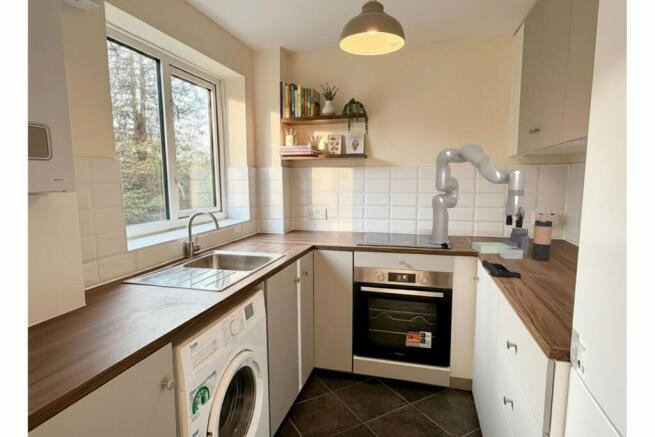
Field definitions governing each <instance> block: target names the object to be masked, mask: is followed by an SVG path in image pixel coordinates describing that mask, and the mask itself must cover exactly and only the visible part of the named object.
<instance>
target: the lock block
mask: <svg viewBox="0 0 655 437" xmlns="http://www.w3.org/2000/svg"><path fill="white" fill-rule="evenodd" d="M499 256H500V257H501V258H503V259H508V260H509V259H510V260H523V259H524V258H523V257H524V254H523V250H522V249H520V248H514V247H500V254H499Z"/></svg>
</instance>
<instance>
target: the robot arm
mask: <svg viewBox="0 0 655 437" xmlns="http://www.w3.org/2000/svg"><path fill="white" fill-rule="evenodd" d="M489 161H490V157H489V155H487V154H486V153H484V149H483V147H482V146H480V145H478V144H472V143H471V144H470V143H468V144H465V145H463V146H462V147H461V148H460V149H459V148H452V147H451V148H449V147H448V148H444V149H442V150H441V151H440V152H439V153H438V154H437V155H436V160H435V165H436V166H435V167H436V168H435V169H436V170H435V172H436V174H435V187H434V188H435V190H437V191H438V192H439V193H438V194H436V195H434V196H433V197H432V200H431V207H432V232H431V233H432V234H431V239H429V242H428V243H430V244H433V245H440V244H443V243H447V244H446V245H450V244H451V241H450V240H448V237H449V218H450V217H449V211H448V209H453V208H455V207H456V206H457V205H458V201H459V192H460V191H459V189H460V186H459V185H460V183H459V181H458V179H457V178H456V177H454V176H451V166H450V163H452V164H454V163H455V164H463V163H469V164H471V165H472V166H473V167H475V168H476V169H477V171H478V173H479V175H481V177H483V178H484V179H486V180H487V181H488V182H490V183H491V184H493V185H494V184H496V185H507V197H506V201H505V210H504V213H505V226H513V222H514V221H513V220H514V219H513V217H514V216H515V228H523V223H524V218H525V214H526V211H525V201H524V199H525V189H526V188H525V187H526V185H525V183H526V170H524V169H497V168H496V167H494V166H493V165H492V164H491V163H490V162H489ZM440 192H442V193H440Z"/></svg>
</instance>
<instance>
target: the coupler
mask: <svg viewBox="0 0 655 437" xmlns="http://www.w3.org/2000/svg"><path fill="white" fill-rule="evenodd" d="M471 243H472V244H471V245H472V246H471V249H472V250H473V251H475V252H478V253H479V254H499V255H500V247H514V248H520V249H522V250H523V255H528V254H529V248H530V247H529V246H530V244H529V243H530V236H529V229H528V228H523V227H522V228H516V227H512V228H511V232H510V238H509V239H508V238H505V239H504V238H502V239H501V242H498V241H497V242H494V241H493V242H491V241H490V242H485V241H484V242H483V241H482V242H481V241H478V242H477V241H476V242H475V241H472V242H471Z"/></svg>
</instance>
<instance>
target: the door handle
mask: <svg viewBox="0 0 655 437" xmlns="http://www.w3.org/2000/svg"><path fill="white" fill-rule="evenodd" d="M481 265H482V266H483V268H484V270H485V271H486V272H487V273H489V274H491V275H492V276H493V277H495V278H498V277H502V278H509V277H517V278H516V279H521V278H520V277H522V274H521V273H520V272H518V271H515V270H521V271H522V268H521V267H516V266H507V265H503V264H502V263H496V262H490V261H489V260H487V259H483V260H482V261H481ZM499 270H501V271H499Z"/></svg>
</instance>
